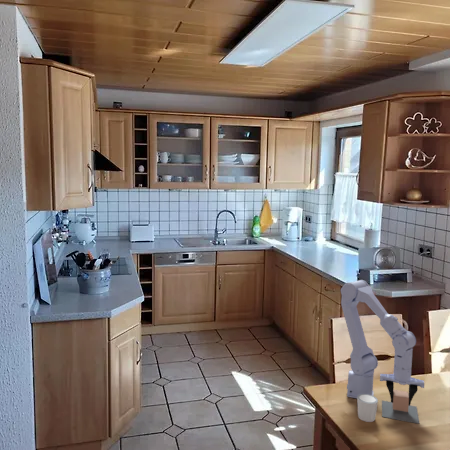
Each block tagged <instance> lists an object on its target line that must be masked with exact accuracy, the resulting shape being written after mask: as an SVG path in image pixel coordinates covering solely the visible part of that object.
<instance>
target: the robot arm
mask: <svg viewBox="0 0 450 450" xmlns="http://www.w3.org/2000/svg"><path fill="white" fill-rule="evenodd" d="M340 294H341V299H340V301H341V302H340V305H341V309H342V313H343V315H344V320H345V325H346V327H347V332H348V335H349V338H350V343H351V347H352V349H351V350H352V351H351V353H350V355H349V357H350V369H351V370H349V369H348V375H347V376H348V377H347V384H346V390H347V393H346V395H347V397H348V398H353V399H357V396H358V395H360V394H369V395H372V396H374V394H375V393H374V392H375V391H374V389H373V388H374V376H375V375H374V374H375V369H377V367H378V365H379V362H378V361H379V360H378V359H377V357H376V356H375V354H374V351H373V349H372V348H371V347H369V346H368V343H367V340H366V335H365V333H364V329H363V325H362V322H361V318H360V315H359V311H358V307H357V306H358V305H359V303H365V304H366V305H367V307H369V309H371V311H372V312H373V313H374V314H375V315H376V316H377V318H379V325H380V326H381V327H382V328H383V330H384V331H385V332H386V333H387V335H388V337H390V338H391V340H392V341H391V342H392V346H393V348H394V358H393V359H394V363H393V373H380V374H379V381H380V382H385V385H386V388H387V390H388V393H389V395H390V402H392V403H393V390H395V389H394V388H395V387H394V384H395V383H396V384H399V385H403V386H405V385H408V395H409V406H410V405H411V404H412V400H413V398H414V397H415V395H416V393H417V392H418V391H419V390H418V387H420V388H422V389H425V380H422V379H419V378H415V377H412V368H413V367H412V365H413V364H412V363H413V350H414V347H415V346H416V344H417V338H416V336H415V334H414V333H413V332H412V331H409V330H407V329H406V328H405V327H404V326H403V325H402V324H401V322H399V321H398V320H399V319H398V317H397V316H395V315H393V314H391V313H390V314H389V313H388V312H387V310H386V309H385V307H384V306H383V305H382V303H381V302H380V300H379V299H378V298H377V296H376V295H375V293H374V292H373V288H372V287H371V286H370V285H369V283H368V281H366V280H363V279H359V280H356V281H351V282H346V283H344V284H343V286H342V287H341V288H340Z"/></svg>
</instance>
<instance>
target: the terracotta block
mask: <svg viewBox="0 0 450 450" xmlns="http://www.w3.org/2000/svg"><path fill="white" fill-rule="evenodd" d="M392 404H393V409H394V410H400V411H405V412H408V406H409V391H405V390H404V391H403V390H398V389H393V403H392Z"/></svg>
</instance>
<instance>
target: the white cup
mask: <svg viewBox="0 0 450 450" xmlns="http://www.w3.org/2000/svg"><path fill="white" fill-rule="evenodd" d="M356 400H357V417H358V419H360V420H361V421H363V422H367V423H372V422H374V421H375V420H376V416H377V409H378V403H379V399H378V398H377V397H376V396H374V395H373V396H372V395H369V394H360V395H358V396H357V398H356Z"/></svg>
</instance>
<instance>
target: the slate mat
mask: <svg viewBox="0 0 450 450" xmlns="http://www.w3.org/2000/svg"><path fill="white" fill-rule="evenodd" d="M381 417H382V418H385V419H391V420H396V421H402V422H408V423H413V424H417V425H418V424H419V425H420V419H419V418H420V417H419V413H418V407H417V406H416V405H411V404H410V406H408V412H405V411H400V410H394V409H393V404H392V402H391V401H387V400H381Z"/></svg>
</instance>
